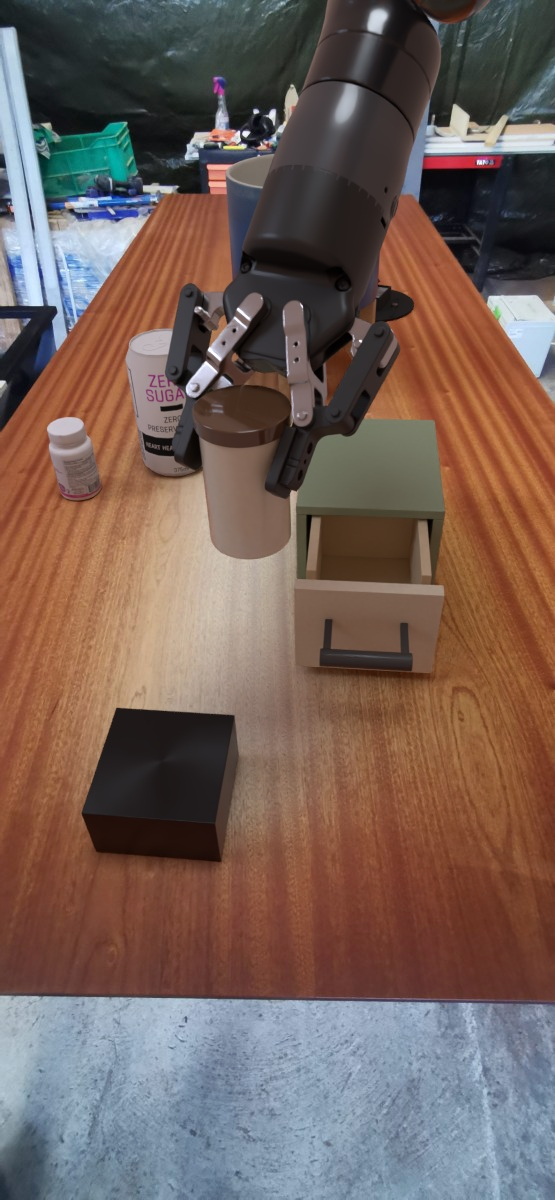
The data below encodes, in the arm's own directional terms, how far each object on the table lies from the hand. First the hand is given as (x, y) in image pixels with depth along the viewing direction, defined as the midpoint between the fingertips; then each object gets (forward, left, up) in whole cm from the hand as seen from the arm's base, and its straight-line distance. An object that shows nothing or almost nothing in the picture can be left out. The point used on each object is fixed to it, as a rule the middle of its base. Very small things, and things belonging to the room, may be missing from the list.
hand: (230, 479), depth 43 cm
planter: (0, -64, -24) cm, 69 cm away
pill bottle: (+24, -33, -24) cm, 48 cm away
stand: (+5, +7, -24) cm, 26 cm away
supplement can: (+14, -40, -24) cm, 49 cm away
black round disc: (-9, -91, -24) cm, 95 cm away
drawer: (-9, -12, -23) cm, 28 cm away
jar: (-1, -2, -5) cm, 5 cm away
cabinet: (-9, -24, -24) cm, 36 cm away
